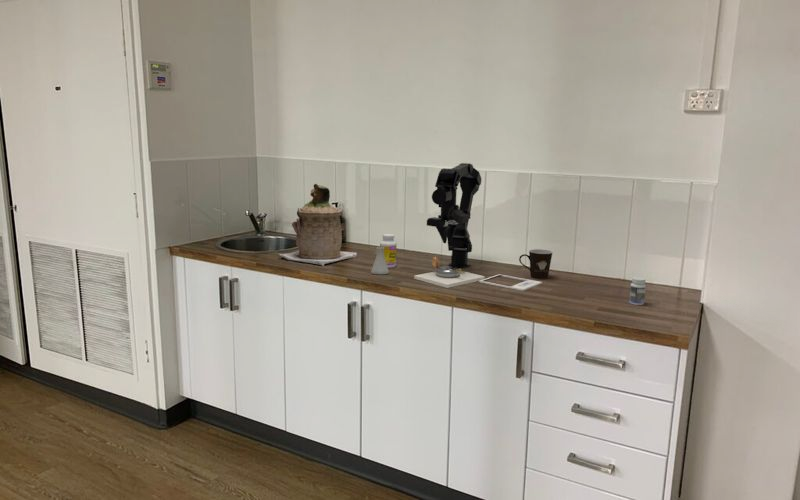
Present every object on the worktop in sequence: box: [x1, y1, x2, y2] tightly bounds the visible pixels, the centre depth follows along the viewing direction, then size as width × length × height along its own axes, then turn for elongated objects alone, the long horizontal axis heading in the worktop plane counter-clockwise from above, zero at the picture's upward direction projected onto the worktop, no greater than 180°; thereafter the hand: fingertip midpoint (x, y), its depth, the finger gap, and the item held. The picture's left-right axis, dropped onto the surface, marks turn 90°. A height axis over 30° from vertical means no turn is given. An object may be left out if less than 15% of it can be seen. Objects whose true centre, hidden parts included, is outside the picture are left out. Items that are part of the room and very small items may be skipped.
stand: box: [413, 268, 486, 289], centre depth 229 cm, size 20×17×2 cm
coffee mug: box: [518, 248, 554, 280], centre depth 235 cm, size 12×9×10 cm
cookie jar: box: [278, 183, 358, 267], centre depth 260 cm, size 25×25×32 cm
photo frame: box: [478, 273, 543, 292], centre depth 226 cm, size 15×1×18 cm
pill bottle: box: [628, 276, 647, 306], centre depth 201 cm, size 5×5×8 cm
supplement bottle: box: [379, 233, 398, 269], centre depth 248 cm, size 7×7×13 cm
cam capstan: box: [431, 256, 464, 278], centre depth 229 cm, size 16×9×6 cm, turn 42°
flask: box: [370, 246, 390, 275], centre depth 237 cm, size 7×7×10 cm
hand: (447, 242), depth 237 cm, fingers open, 3 cm apart
